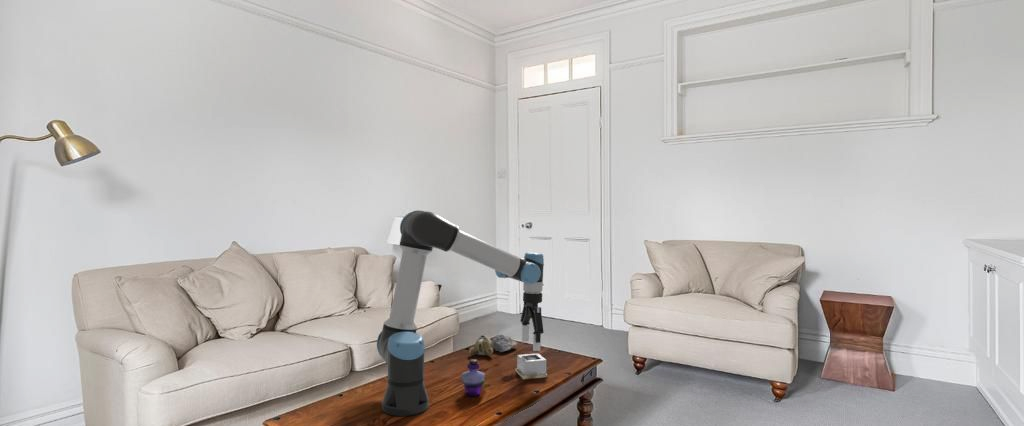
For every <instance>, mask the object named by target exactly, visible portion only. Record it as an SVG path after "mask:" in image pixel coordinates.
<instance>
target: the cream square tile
mask: <svg viewBox="0 0 1024 426" xmlns="http://www.w3.org/2000/svg"><path fill="white" fill-rule="evenodd" d="M526 360H537V359H536V358H533V357H529V358H527V359H526ZM515 373H517V374H518V375H519V377H520V378H521V379H522V380H530V379H542V378H548V376H549V375H548V374H547V373H546V374H541V375H530V376H524V375H523V374H522V373H521V372H520V371H519V370H518V369H517V367H516V368H515Z"/></svg>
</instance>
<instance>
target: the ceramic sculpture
mask: <svg viewBox="0 0 1024 426" xmlns="http://www.w3.org/2000/svg"><path fill="white" fill-rule="evenodd" d="M493 354H494V348H492V339H491V338H490V336H488V335H487V334H483V335H480V336H479V337H478V339H477V340H476V341H475V343H474V345H473V346H471V347H470V349H469V351H468V355H469V356H475V355H478V356H487V357H492V355H493Z"/></svg>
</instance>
